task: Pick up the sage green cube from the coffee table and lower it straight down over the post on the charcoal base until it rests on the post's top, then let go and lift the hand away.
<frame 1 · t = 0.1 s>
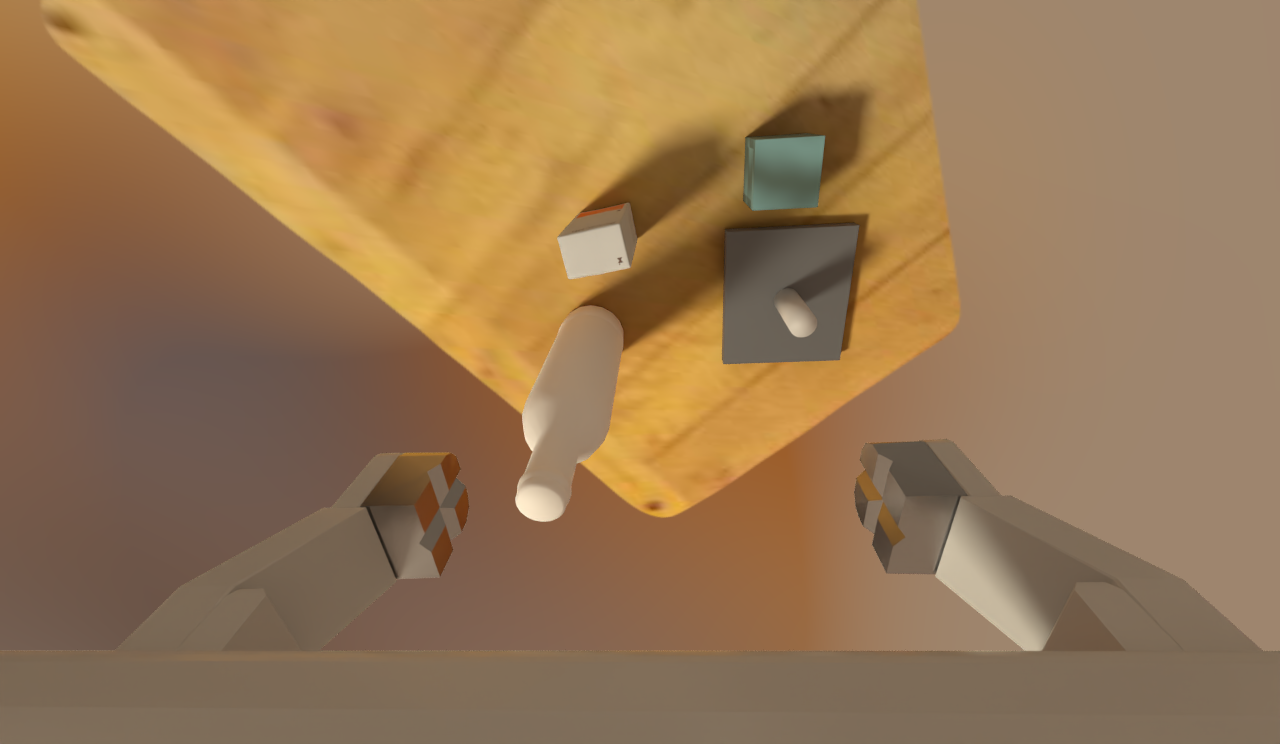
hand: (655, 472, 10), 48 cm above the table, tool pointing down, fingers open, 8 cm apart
skincare box: (607, 225, 55), on the table
post block: (783, 295, 58), on the table
bottle: (592, 333, 61), on the table
sage green cube: (774, 168, 51), on the table
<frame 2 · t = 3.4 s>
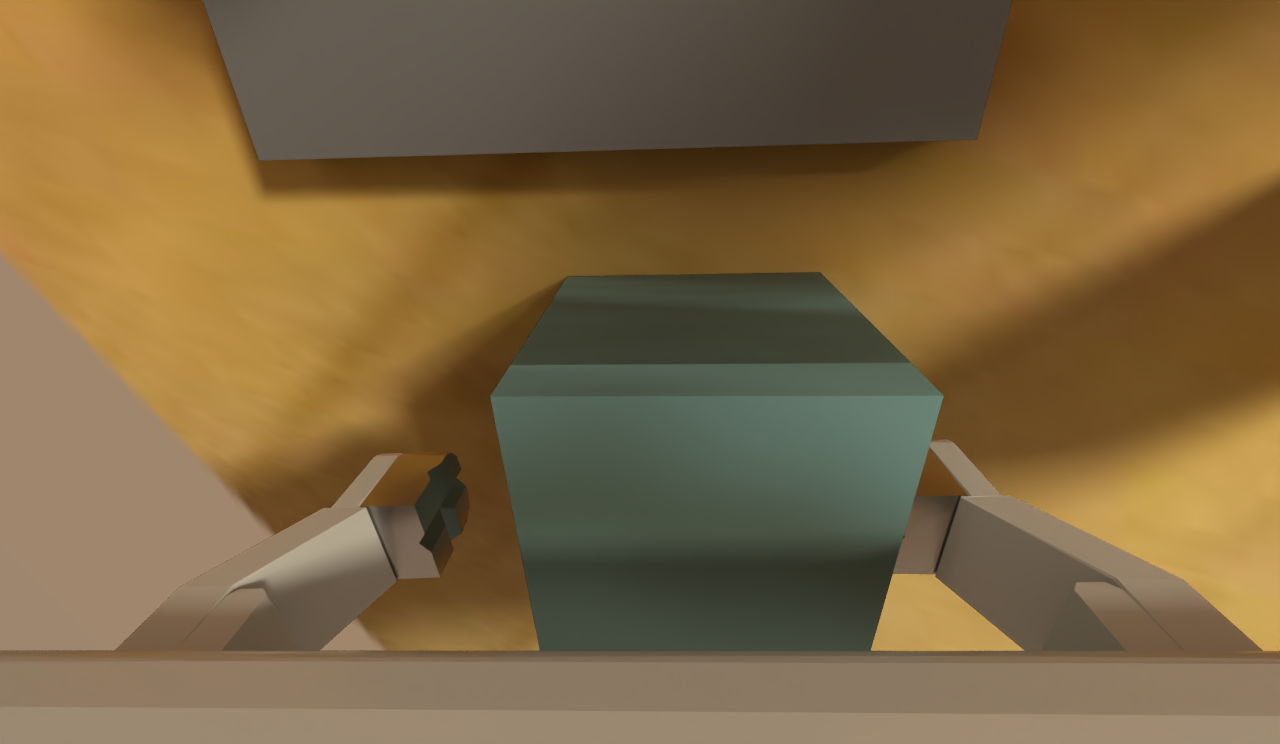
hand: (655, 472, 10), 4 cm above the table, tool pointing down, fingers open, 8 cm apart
sage green cube: (690, 384, 13), on the table
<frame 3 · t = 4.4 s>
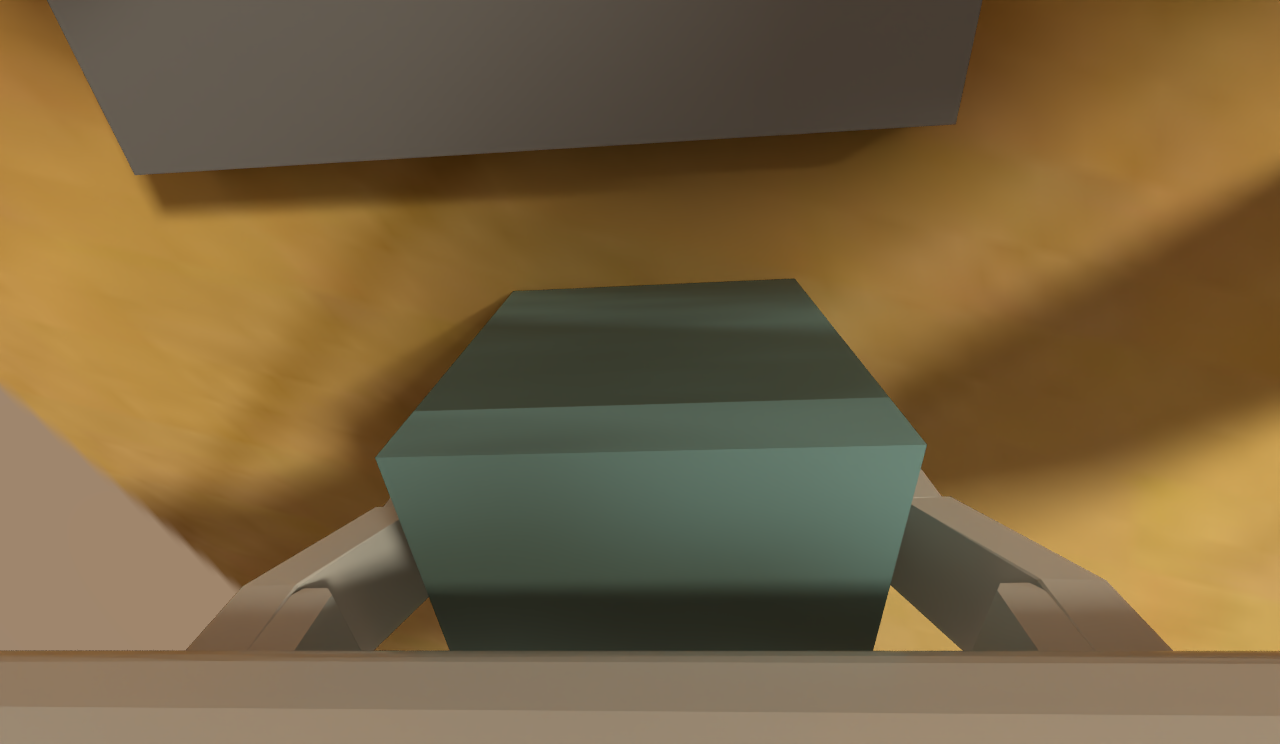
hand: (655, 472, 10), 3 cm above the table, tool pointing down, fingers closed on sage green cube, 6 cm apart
sage green cube: (657, 404, 12), on the table, touching gripper
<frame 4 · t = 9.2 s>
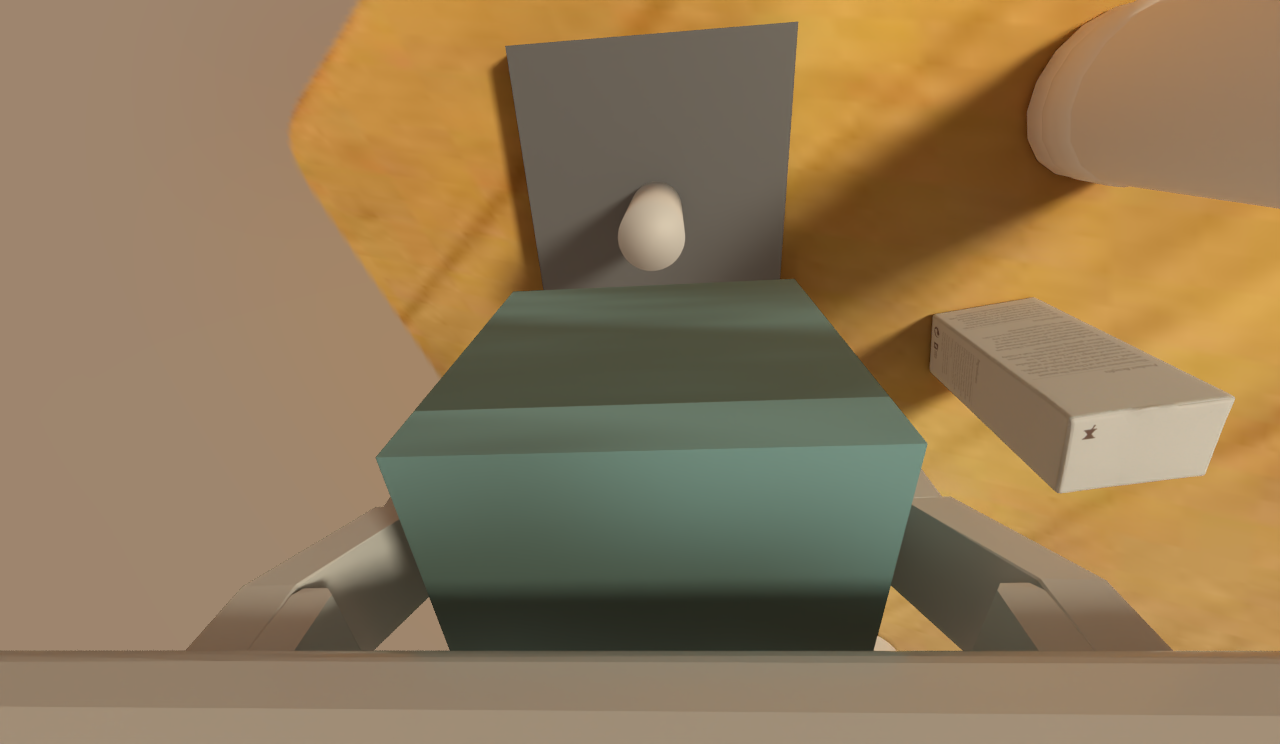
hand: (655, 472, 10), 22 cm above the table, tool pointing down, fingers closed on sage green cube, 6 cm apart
skincare box: (978, 333, 31), on the table
post block: (656, 204, 28), on the table
bottle: (1104, 96, 25), on the table
sage green cube: (657, 405, 12), point 19 cm above the table, touching gripper
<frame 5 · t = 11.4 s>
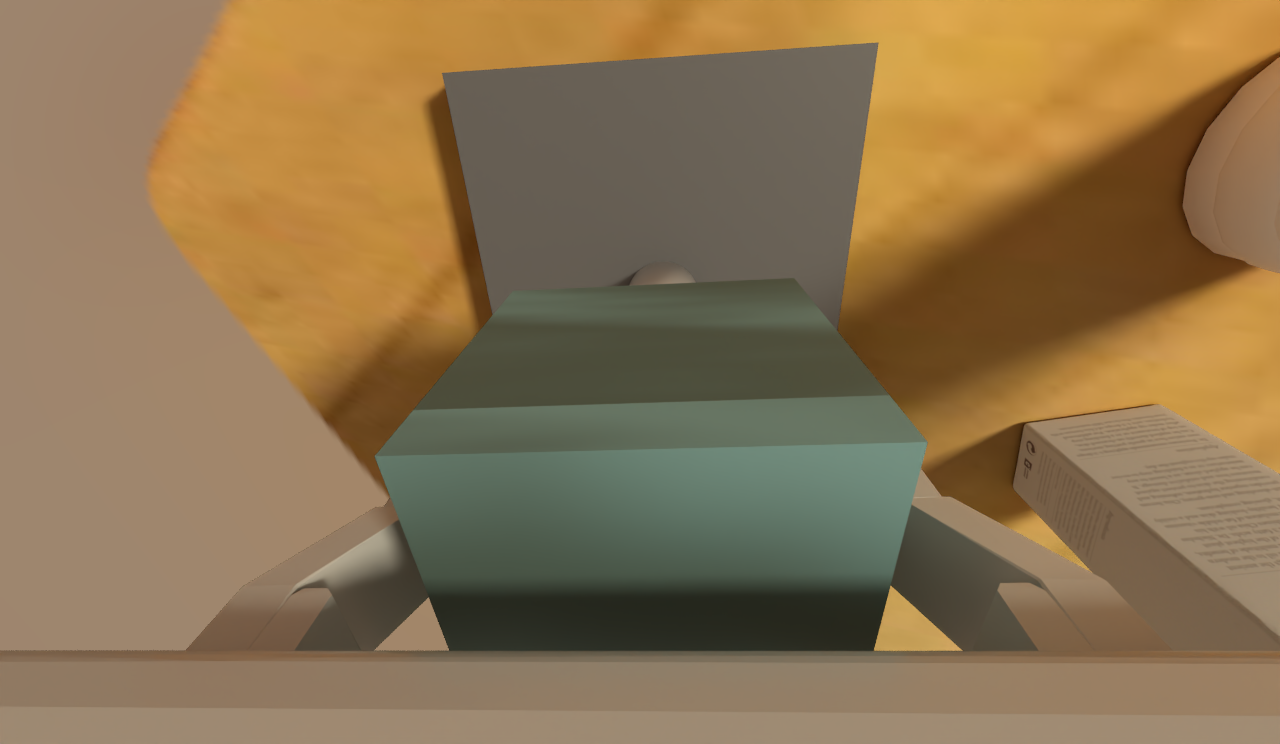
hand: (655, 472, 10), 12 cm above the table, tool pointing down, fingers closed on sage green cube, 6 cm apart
skincare box: (1079, 444, 24), on the table
post block: (662, 284, 21), on the table
sage green cube: (657, 404, 12), point 10 cm above the table, touching gripper
when the fingers open (7 cm above the table, at t = 13.7 s): sage green cube stays where it is, resting on post block.
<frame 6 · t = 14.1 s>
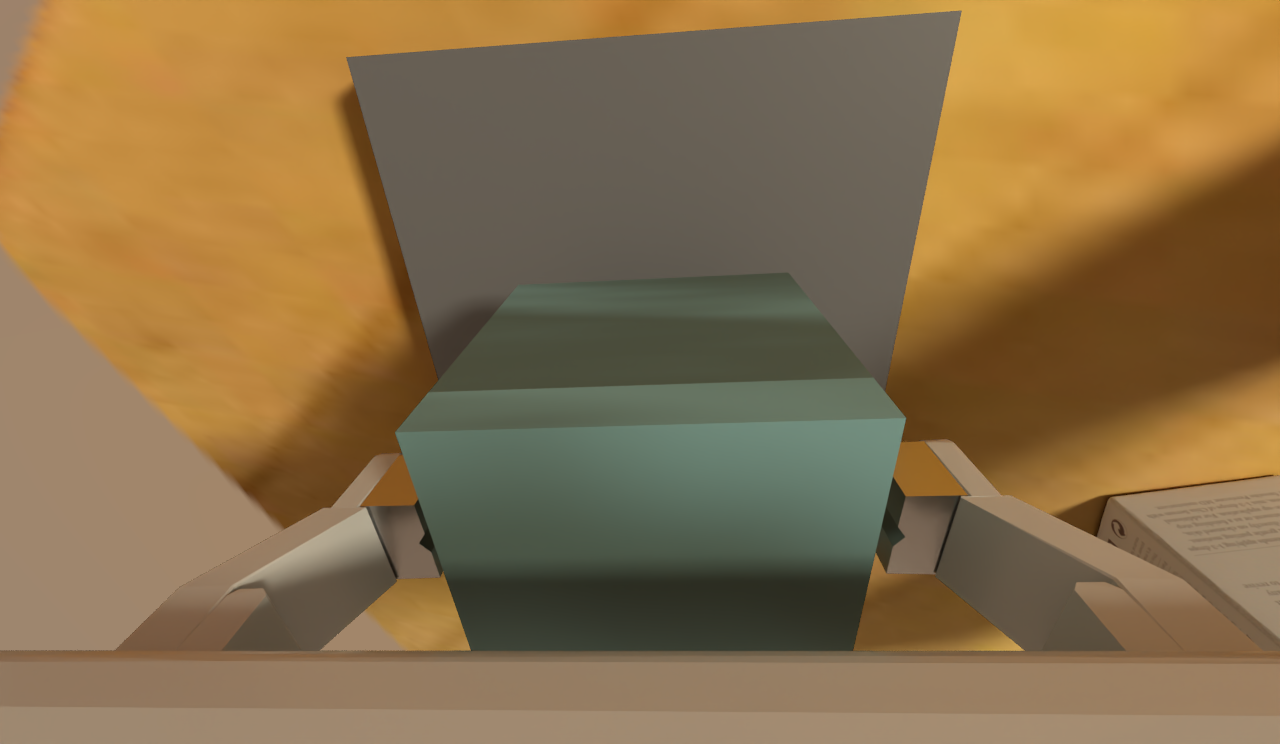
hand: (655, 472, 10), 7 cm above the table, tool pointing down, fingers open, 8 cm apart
skincare box: (1172, 519, 19), on the table
post block: (657, 332, 16), on the table
sage green cube: (656, 395, 13), point 4 cm above the table, touching post block
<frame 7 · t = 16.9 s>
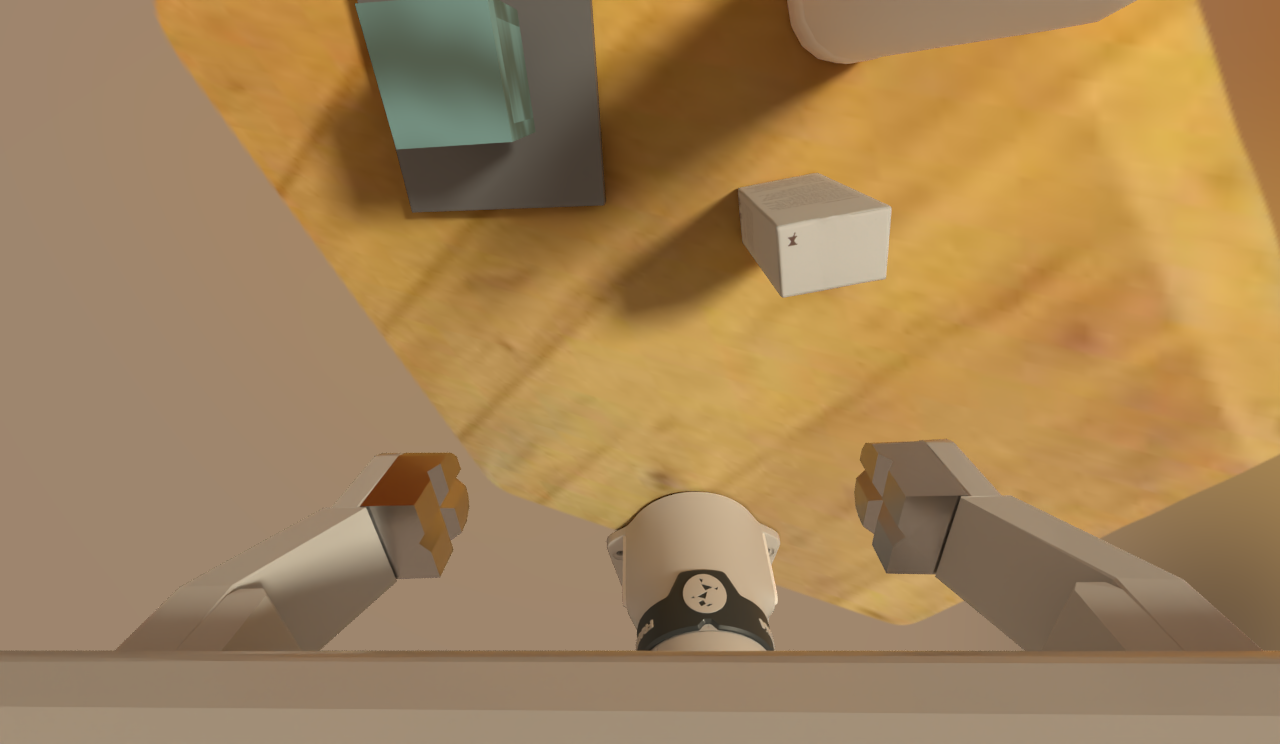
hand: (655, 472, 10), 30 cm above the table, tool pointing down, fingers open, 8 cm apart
skincare box: (778, 208, 37), on the table
post block: (492, 80, 33), on the table
sage green cube: (475, 78, 29), point 4 cm above the table, touching post block
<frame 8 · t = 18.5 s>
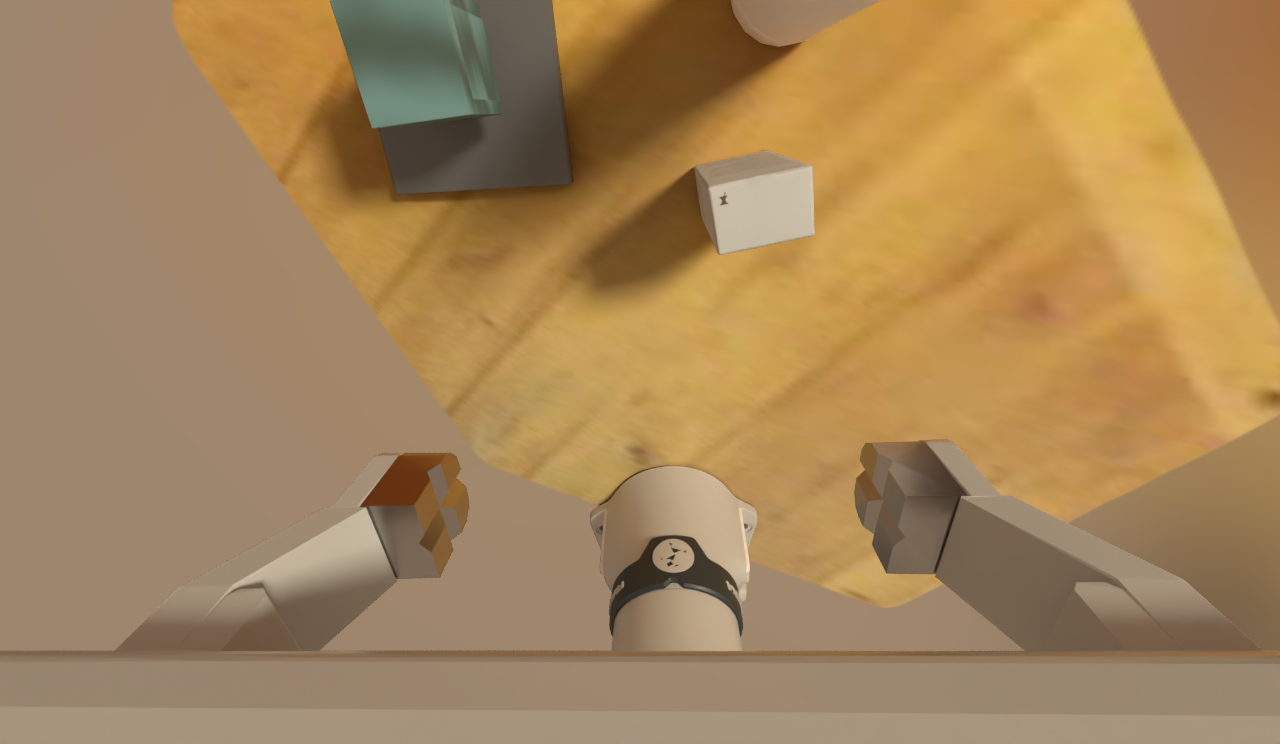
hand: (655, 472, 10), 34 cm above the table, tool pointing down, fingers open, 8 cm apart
skincare box: (734, 185, 39), on the table
post block: (466, 72, 36), on the table
sage green cube: (447, 68, 33), point 4 cm above the table, touching post block
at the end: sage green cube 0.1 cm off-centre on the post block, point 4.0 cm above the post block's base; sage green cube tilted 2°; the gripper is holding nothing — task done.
